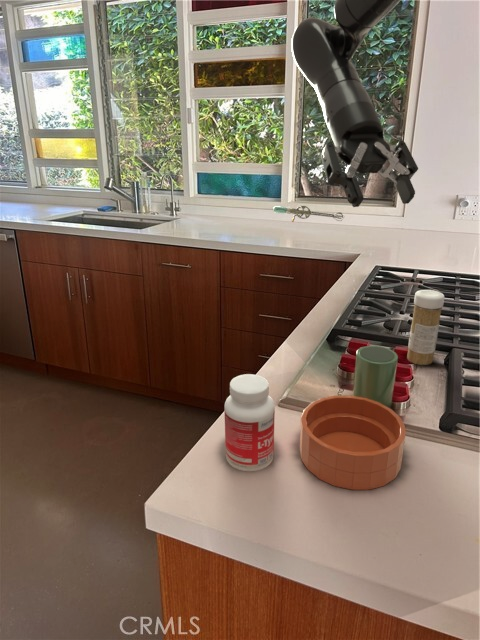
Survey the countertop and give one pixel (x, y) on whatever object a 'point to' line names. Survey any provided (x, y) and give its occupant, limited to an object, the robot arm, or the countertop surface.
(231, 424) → the pill bottle
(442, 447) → the countertop surface
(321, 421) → the terracotta bowl
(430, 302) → the sprinkles bottle
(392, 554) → the countertop surface
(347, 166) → the robot arm
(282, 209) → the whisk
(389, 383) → the green cup
